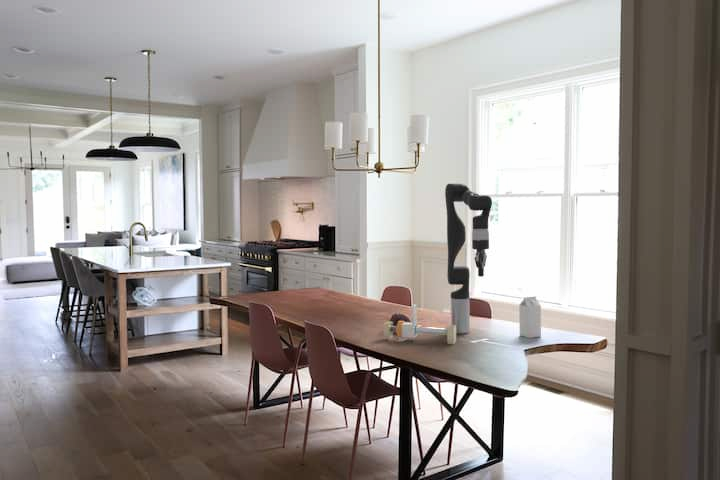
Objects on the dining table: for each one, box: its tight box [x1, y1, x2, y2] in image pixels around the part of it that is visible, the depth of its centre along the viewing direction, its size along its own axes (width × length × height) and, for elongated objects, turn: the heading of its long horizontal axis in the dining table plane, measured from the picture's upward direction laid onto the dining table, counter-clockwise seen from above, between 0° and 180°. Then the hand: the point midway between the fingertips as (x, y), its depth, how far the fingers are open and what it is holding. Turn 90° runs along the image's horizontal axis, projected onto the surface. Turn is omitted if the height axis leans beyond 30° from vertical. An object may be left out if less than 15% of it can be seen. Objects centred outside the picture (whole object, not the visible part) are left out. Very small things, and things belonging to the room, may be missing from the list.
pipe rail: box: [383, 320, 457, 345], centre depth 272 cm, size 34×9×8 cm, turn 68°
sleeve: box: [402, 303, 419, 339], centre depth 274 cm, size 6×6×15 cm
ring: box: [395, 321, 405, 338], centre depth 276 cm, size 2×8×8 cm, turn 159°
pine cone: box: [388, 313, 412, 326], centre depth 294 cm, size 18×10×10 cm
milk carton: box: [518, 296, 542, 339], centre depth 277 cm, size 7×7×19 cm
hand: (480, 276), depth 264 cm, fingers closed
